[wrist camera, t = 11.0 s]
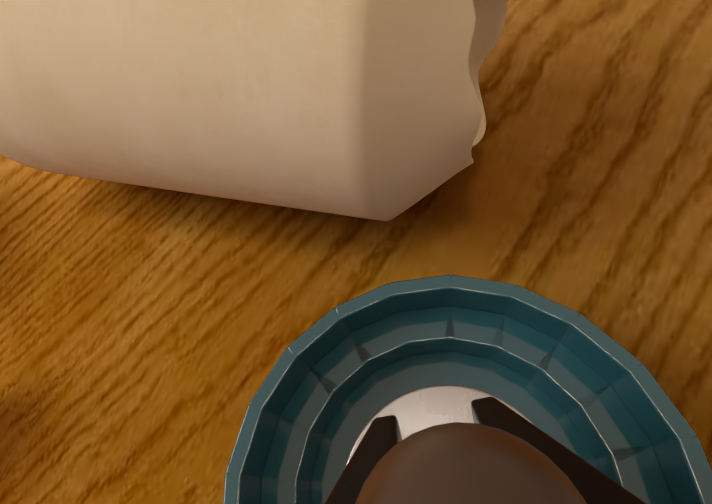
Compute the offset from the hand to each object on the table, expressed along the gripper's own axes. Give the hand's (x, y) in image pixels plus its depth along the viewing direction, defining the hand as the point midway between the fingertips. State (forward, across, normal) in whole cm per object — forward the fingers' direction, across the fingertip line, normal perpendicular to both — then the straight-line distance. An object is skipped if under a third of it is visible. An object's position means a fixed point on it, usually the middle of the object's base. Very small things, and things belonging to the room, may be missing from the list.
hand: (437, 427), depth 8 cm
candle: (+22, +6, -5) cm, 23 cm away
